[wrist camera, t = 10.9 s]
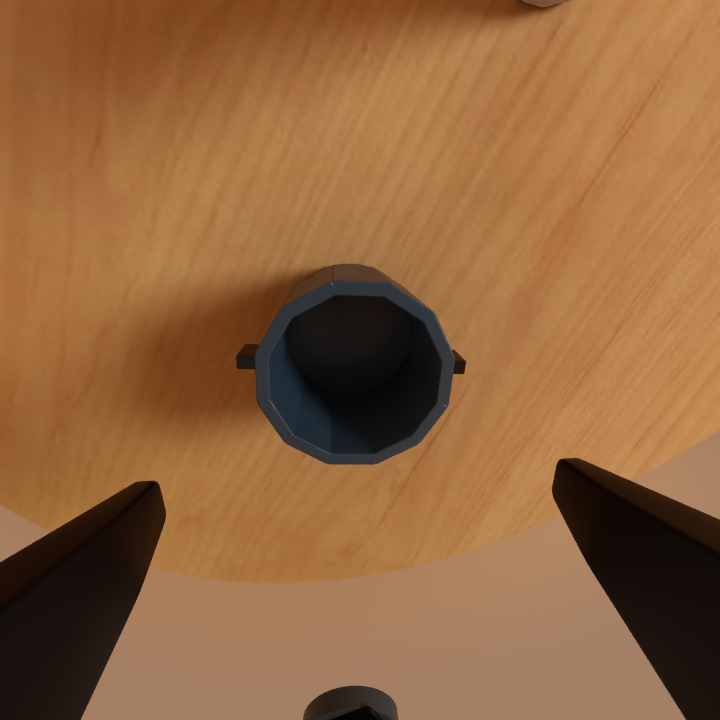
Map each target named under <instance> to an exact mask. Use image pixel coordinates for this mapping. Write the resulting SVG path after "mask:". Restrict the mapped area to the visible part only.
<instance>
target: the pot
mask: <svg viewBox="0 0 720 720" xmlns="http://www.w3.org/2000/svg"><path fill="white" fill-rule="evenodd" d="M236 361H237V369H255V373H256V393H257V402H258V405H259V407H260V408H261V410H262V411H263V412H264V414H265V415H266V417H267V418H268V420H269V421H270V423H271V424H272V425H273V427H274V428H275V430H276V431H277V433H278V434H279V436H280V437H281V438H282V440H283V441H284V442H285V443H286V444H288V445H290V446H292V447H294V448H296V449H298V450H300V451H302V452H304V453H306V454H308V455H310V456H312V457H314V458H316V459H318V460H320V461H322V462H324V463H326V464H327V463H328V464H375V463H376V464H378V463H380V462H382V461H384V460H386V459H388V458H390V457H392V456H395V455H397V454H399V453H401V452H403V451H405V450H407V449H409V448H412V447H414V446H416V445H418V443H420V442H421V441H422V440H423V438H424V437H425V436H426V434H427V433H428V432H429V431H430V429H431V428H432V427H433V425H434V424H435V423H436V421H437V420H438V419H439V418H440V416H441V415H442V414H443V412H444V411H445V410H446V409H447V407H448V405H449V399H450V392H451V385H452V378H453V374H464V371H465V365H466V361H465V360H464V359H463V358H462V357H461V356H460V355H459V354H458V353H457V352H456V351H455V350H451V348H450V346H449V343H448V341H447V339H446V337H445V334H444V332H443V330H442V328H441V326H440V323H439V321H438V319H437V317H436V314H435V313H434V312H433V311H432V310H431V309H430V308H428V307H427V306H426V305H425V304H423V303H422V302H421V301H420V300H419V299H417V298H416V297H415V296H414V295H412V294H411V293H410V292H409V291H408V290H406V289H405V288H404V287H402V286H401V285H399V284H398V283H396V282H395V281H393V280H392V279H391V278H389V277H388V276H387V275H385V274H383V273H382V272H380V271H378V270H377V269H375V268H372V267H367V266H363V265H357V264H340V265H333V266H330V267H327V268H324V269H322V270H319V271H317V272H315V273H314V274H312V275H311V276H309V277H308V278H307V279H305V280H304V281H302V282H300V283H299V284H298V285H297V286H296V287H295V289H294V290H293V291H292V293H291V294H290V296H289V297H288V299H287V300H286V301H285V303H284V304H283V306H282V307H281V309H280V310H279V312H278V314H277V315H276V317H275V319H274V321H273V322H272V324H271V326H270V327H269V329H268V331H267V333H266V334H265V336H264V338H263V339H262V341H261V343H260V345H256V344H246V345H244V347H243V348H242V349H241V350H240V352H239V353H238V354H237V356H236Z"/></svg>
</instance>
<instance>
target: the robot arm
mask: <svg viewBox="0 0 720 720" xmlns="http://www.w3.org/2000/svg"><path fill="white" fill-rule="evenodd" d="M552 494H553V498H554V500H555V502H556V504H557V506H558V508H559V510H560V512H561V514H562V516H563V518H564V520H565V522H566V524H567V525H568V527H569V529H570V531H571V533H572V535H573V537H574V539H575V541H576V543H577V545H578V547H579V549H580V551H581V553H582V555H583V556H584V558H585V560H586V562H587V564H588V565H589V567H590V569H591V570H592V572H593V574H594V575H595V577H596V578H597V580H598V581H599V583H600V584H601V586H602V588H603V589H604V591H605V592H606V594H607V596H608V597H609V599H610V600H611V602H612V603H613V605H614V607H615V608H616V610H617V611H618V613H619V615H620V616H621V618H622V619H623V621H624V622H625V624H626V625H627V627H628V629H629V630H630V632H631V633H632V635H633V636H634V638H635V640H636V641H637V643H638V645H639V646H640V648H641V649H642V651H643V652H644V654H645V656H646V657H647V659H648V660H649V662H650V663H651V665H652V667H653V668H654V670H655V671H656V673H657V674H658V676H659V678H660V679H661V681H662V682H663V684H664V686H665V687H666V689H667V690H668V692H669V693H670V695H671V697H672V698H673V700H674V701H675V703H676V704H677V706H678V708H679V709H680V710H681V712H682V714H683V715H684V717H685V719H686V720H720V520H719V519H717V518H714V517H712V516H710V515H708V514H705V513H703V512H701V511H699V510H696V509H694V508H691V507H689V506H687V505H685V504H682V503H680V502H678V501H676V500H673V499H671V498H669V497H666V496H664V495H662V494H659V493H657V492H655V491H653V490H650V489H648V488H646V487H643V486H641V485H639V484H636V483H634V482H632V481H630V480H627V479H625V478H623V477H620V476H618V475H616V474H614V473H611V472H609V471H607V470H604V469H602V468H600V467H598V466H595V465H593V464H591V463H588V462H586V461H584V460H581V459H579V458H567V459H560V460H559V461H558V462H557V465H556V470H555V475H554V480H553V486H552ZM165 519H166V510H165V506H164V502H163V497H162V493H161V489H160V486H159V484H158V483H157V482H156V481H140V482H135V483H133V484H132V485H130V486H128V487H127V488H125V489H123V490H122V491H120V492H118V493H117V494H115V495H113V496H111V497H110V498H108V499H106V500H105V501H103V502H101V503H100V504H98V505H96V506H95V507H93V508H91V509H90V510H88V511H86V512H84V513H83V514H81V515H79V516H78V517H76V518H74V519H73V520H71V521H69V522H68V523H66V524H64V525H63V526H61V527H59V528H57V529H56V530H54V531H52V532H51V533H49V534H47V535H46V536H44V537H43V538H41V539H39V540H37V541H35V542H34V543H32V544H31V545H29V546H27V547H25V548H24V549H22V550H20V551H19V552H17V553H16V554H14V555H12V556H10V557H8V558H7V559H5V560H4V561H2V562H0V720H81V718H82V716H83V714H84V711H85V709H86V707H87V705H88V703H89V701H90V699H91V696H92V694H93V692H94V690H95V688H96V686H97V683H98V681H99V679H100V677H101V675H102V673H103V671H104V668H105V666H106V664H107V662H108V660H109V658H110V656H111V654H112V652H113V649H114V647H115V645H116V643H117V641H118V639H119V637H120V634H121V632H122V630H123V628H124V626H125V624H126V622H127V619H128V617H129V615H130V613H131V611H132V609H133V606H134V604H135V602H136V600H137V598H138V595H139V592H140V590H141V588H142V585H143V582H144V580H145V577H146V574H147V571H148V568H149V566H150V563H151V560H152V557H153V554H154V551H155V549H156V546H157V543H158V540H159V537H160V535H161V532H162V529H163V526H164V523H165ZM331 720H382V719H381V718H380V716H379V715H378V714H377V713H376V711H375V710H374V709H373V708H372V707H370V706H365V707H362V708H360V709H357V710H354V711H352V712H349V713H347V714H344V715H341V716H339V717H336V718H334V719H331Z"/></svg>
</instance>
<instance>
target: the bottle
mask: <svg viewBox="0 0 720 720" xmlns="http://www.w3.org/2000/svg"><path fill="white" fill-rule="evenodd" d="M521 1H522V2H524V3H527V4H531V5H535V6H539V7H543V8H544V7H548V6H552V5H556V4H559V3H563V2H567V1H569V0H521Z"/></svg>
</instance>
